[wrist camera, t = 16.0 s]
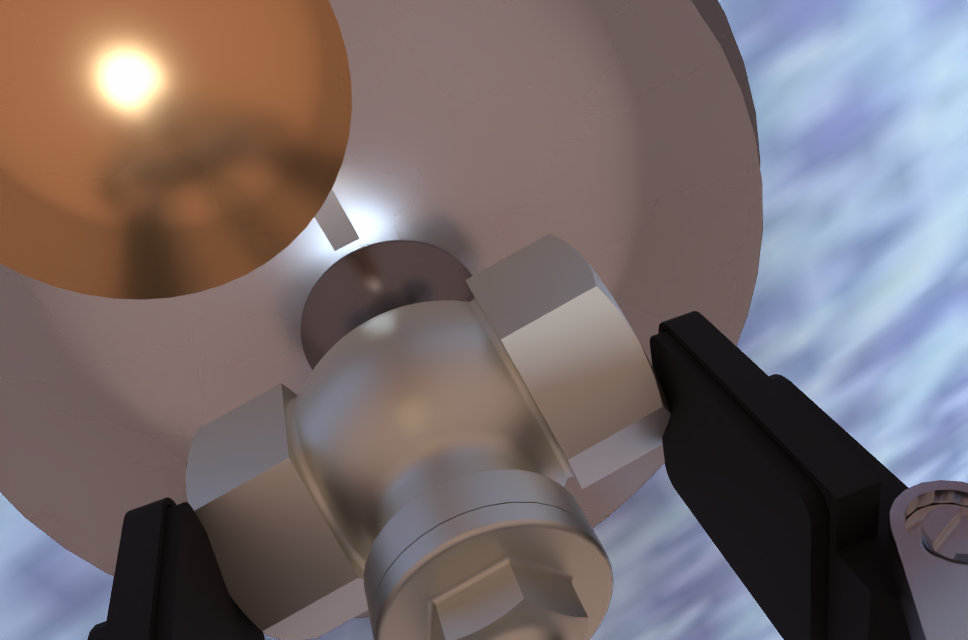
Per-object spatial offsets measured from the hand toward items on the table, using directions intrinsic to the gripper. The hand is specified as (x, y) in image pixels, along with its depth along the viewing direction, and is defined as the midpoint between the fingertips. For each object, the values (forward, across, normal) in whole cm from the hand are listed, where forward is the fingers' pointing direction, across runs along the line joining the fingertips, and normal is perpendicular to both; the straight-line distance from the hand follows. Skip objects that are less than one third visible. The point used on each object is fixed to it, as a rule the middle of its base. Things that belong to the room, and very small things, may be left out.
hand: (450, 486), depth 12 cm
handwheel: (+6, 0, 0) cm, 6 cm away
